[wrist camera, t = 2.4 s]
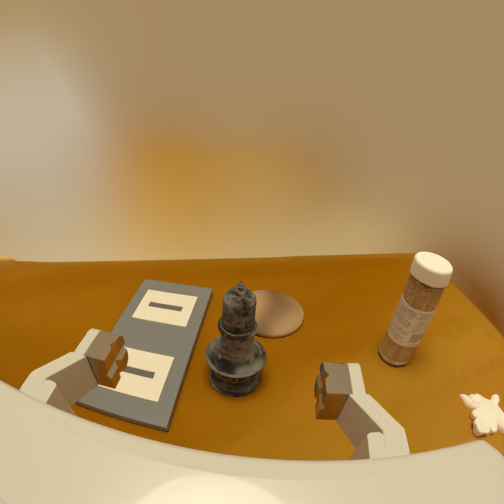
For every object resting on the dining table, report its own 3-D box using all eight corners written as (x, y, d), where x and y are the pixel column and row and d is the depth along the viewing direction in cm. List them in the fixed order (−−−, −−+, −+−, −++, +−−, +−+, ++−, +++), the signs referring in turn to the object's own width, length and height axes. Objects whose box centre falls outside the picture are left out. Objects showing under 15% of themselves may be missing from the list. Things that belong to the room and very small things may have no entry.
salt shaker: (258, 355, 33) (270, 262, 27) (267, 396, 28) (285, 303, 22) (204, 356, 32) (203, 262, 27) (207, 400, 27) (204, 305, 21)
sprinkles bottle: (403, 341, 36) (441, 251, 29) (414, 366, 32) (461, 273, 25) (373, 342, 36) (408, 248, 29) (382, 368, 32) (427, 270, 25)
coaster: (229, 333, 36) (229, 329, 36) (238, 290, 44) (238, 286, 44) (304, 341, 36) (305, 337, 35) (301, 297, 43) (302, 294, 43)
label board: (74, 403, 24) (70, 397, 23) (145, 283, 43) (145, 277, 43) (167, 431, 23) (166, 426, 23) (212, 293, 43) (212, 287, 42)
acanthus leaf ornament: (510, 438, 20) (519, 429, 19) (471, 447, 21) (481, 439, 20) (493, 393, 27) (501, 384, 26) (457, 397, 27) (464, 387, 26)
